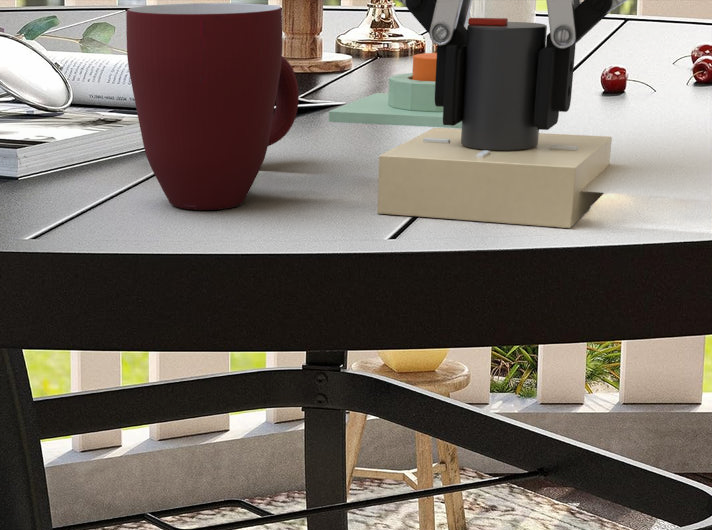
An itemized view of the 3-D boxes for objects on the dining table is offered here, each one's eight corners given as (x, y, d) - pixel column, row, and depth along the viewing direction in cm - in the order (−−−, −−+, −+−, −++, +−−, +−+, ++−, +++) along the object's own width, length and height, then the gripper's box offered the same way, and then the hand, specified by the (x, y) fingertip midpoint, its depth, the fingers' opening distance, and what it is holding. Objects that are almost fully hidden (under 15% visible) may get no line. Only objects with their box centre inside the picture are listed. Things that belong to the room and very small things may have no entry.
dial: (544, 140, 75) (554, 16, 72) (529, 152, 71) (538, 22, 69) (471, 137, 76) (478, 15, 74) (452, 148, 73) (459, 21, 70)
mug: (226, 177, 83) (225, -2, 79) (337, 193, 78) (342, 3, 74) (101, 206, 76) (92, 10, 72) (215, 225, 71) (213, 16, 67)
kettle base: (540, 132, 97) (545, 72, 96) (506, 155, 89) (510, 89, 87) (375, 124, 102) (377, 66, 100) (328, 144, 93) (329, 82, 92)
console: (606, 192, 77) (612, 133, 76) (570, 228, 69) (576, 163, 68) (431, 180, 81) (433, 124, 80) (376, 213, 73) (379, 151, 72)
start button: (472, 80, 95) (474, 53, 94) (458, 86, 92) (459, 59, 91) (420, 78, 96) (422, 52, 95) (405, 85, 93) (406, 57, 92)
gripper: (333, -270, 66) (325, 127, 73) (704, -293, 60) (656, 143, 67) (379, -256, 72) (368, 108, 80) (720, -275, 66) (674, 121, 74)
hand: (500, 120), depth 73 cm, fingers closed on dial, 4 cm apart
